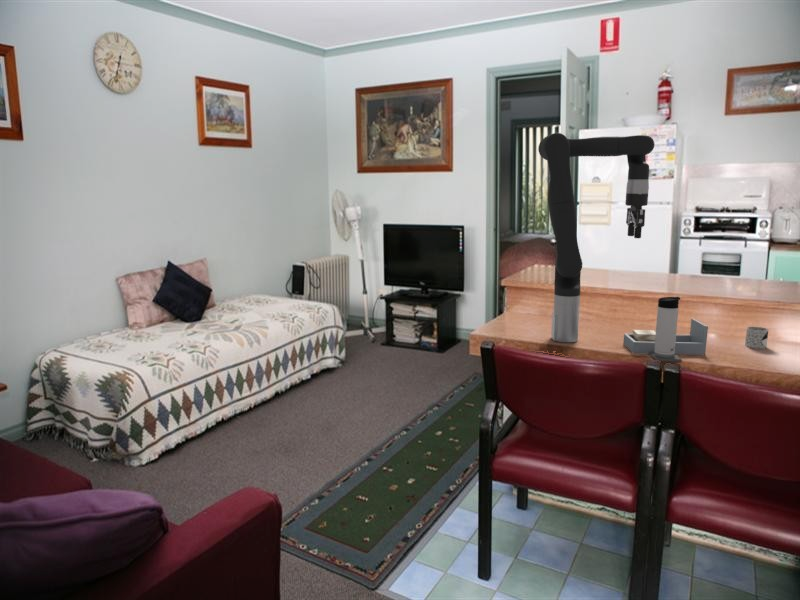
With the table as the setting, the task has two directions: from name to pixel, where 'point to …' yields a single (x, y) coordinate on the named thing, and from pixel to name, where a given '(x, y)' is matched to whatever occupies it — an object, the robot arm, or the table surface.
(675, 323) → the travel mug
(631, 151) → the robot arm
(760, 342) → the notched grey stone block
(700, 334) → the tray
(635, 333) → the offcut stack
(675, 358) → the mat
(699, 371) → the table surface
